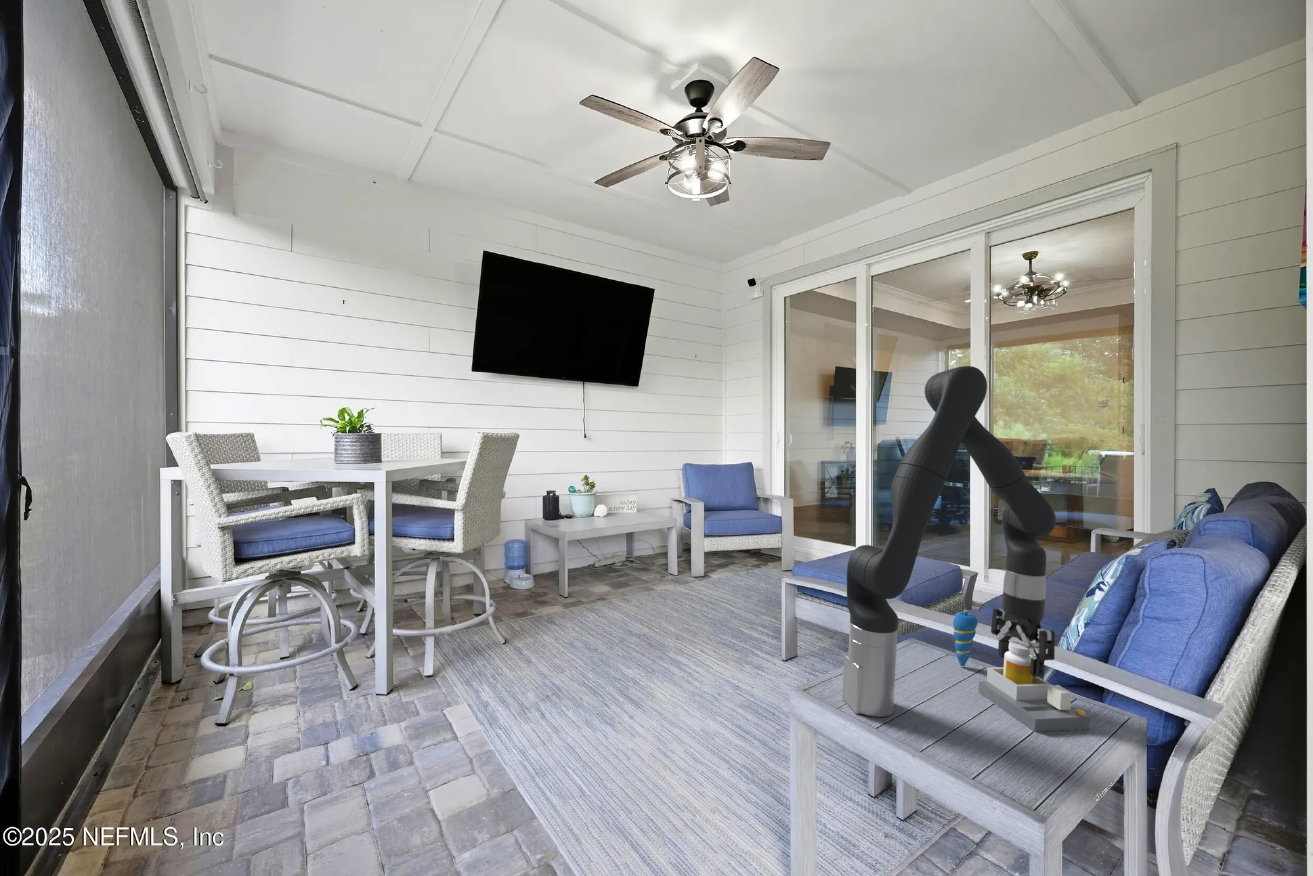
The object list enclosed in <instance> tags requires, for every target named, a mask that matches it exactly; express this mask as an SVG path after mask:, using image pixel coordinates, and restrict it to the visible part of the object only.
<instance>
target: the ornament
mask: <svg viewBox="0 0 1313 876" xmlns="http://www.w3.org/2000/svg"><path fill="white" fill-rule="evenodd" d="M977 626H978V618H977V617H976V616H975V615H974V614H972V613H970V612H969V610H968V609H967V607H965V608H964V609H963V611H958V612H957V613H956V615H955V616H954V618H953V621H952V627H953V630H954V631H953V637H954V640H955V642H954V647H955V651H956V654H955V655H956V657H957V660H958V663H959V666H960V667H961V666H964V667H965V666H966V664H967V662H968V660H969V659H970V656H971V649H972V647H973V644H974V638H975V636H976V633H977V632H976V631H977V630H976V628H977Z"/></svg>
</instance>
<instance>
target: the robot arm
mask: <svg viewBox="0 0 1313 876" xmlns="http://www.w3.org/2000/svg"><path fill="white" fill-rule="evenodd" d="M924 385H925V386H924V397H925V399H926V401H927V404H928V405H929V406H930V408H931V409H932V410H933V411H934V412H935V414H934V415H933V418H932V420H931V421H930V423H929V425H928V426H927V428H925V430H924V431H923V432H921V433H922V434H921V435H920V436H919V437H918V438H917V439H916V440H915V442H913V444H912V445H911V446H910V447H909V448H908V449H907V451H906V452H905V454H904V455H903V456H902V459H901V460H900V463H899V465H898V467H897V470H896V473H895V474H894V477H893V479H892V482H891V485H890V503H891V511H892V523H891V529H890V532H889V533H890V534H889V536H888V538H887V541H886V543H885V545H884V547H883V548H880V547H877V546H874V545H870V544H863V545H860V546H858V547H857V548H856V547H855V549H854V550H853V551H852V553H851V554H850V556H849V559H848V561H847V567H846V605H847V609H848V612H849V635H848V652H847V653H848V654H845V655H844V657H843V674H842V675H843V677H842V691H841V693H842V694H841V695H842V696H841V698H842V700H843V701H844V702H845V704H847V706H848V707H850V708H851V710H852V712H854V713H855V714H859V715H860V714H862V715H865V716H868V717H873V718H874V717H876V718H881V717H883V718H885V717H888V716H891V715H892V714H893V712H894V706H895V705H894V704H895V687H896V686H895V685H896V664H897V663H896V662H897V650H898V649H897V647H898V646H897V644H898V631H899V630H898V629H899V628H898V627H899V617H898V614H897V612H896V611H895V610H894V609H893V608H892V607H891V605H890V604H889V603H888V600H893V599H896V598H898V597H899V596H900V595H901V594H903V592H904V591H905V589H906V588H907V586H908V584H909V582H910V579H911V577H912V573H913V571H914V567H915V564H916V560H917V556H918V553H919V550H920V547H921V542H922V540H923V537H924V534H925V532H926V529H927V526H928V523H929V521H930V518H931V515H932V513H933V511H934V508H935V506H936V503H937V502H938V500H939V497H940V495H941V493H942V490H943V488H944V487H945V483H946V481H947V478H948V475H949V472H950V471H951V468H952V465H953V463H954V461H955V458H956V456H957V453H958V451H959V449H960V446H961V445H962V447H963V448H964V449H965V451H966V453H968V454H969V456H970V457H971V458H972V460H973V462H974V463H975V465H976V466H977V468H978V470H979V471H980V474H981V475H982V477H983V478H984V480H985V481H986V483H987V485H988V487H989V488H990V490H991V492H993V493H994V495H995V497H997V498H999V499H1001V500H1003V501H1004V502H1005V503H1006V505H1005V506H1004V508H1003V511H1002V516H1001V518H1002V519H1001V522H1002V524H1001V525H1002V530H1003V535H1004V542H1005V544H1006V545H1005V546H1006V549H1007V550H1006V557H1005V558H1006V560H1005V561H1006V562H1005V572H1004V576H1003V584H1002V585H1003V587H1002V605H1001V608H993V610H992V620H991V626H990V633H991V634H992V635H995V636H996V639H997V640H998V646H997V647H998V649H997V652H998V657H999V658H1001V659H1004V655H1005V653H1006V652H1007V651H1010V650H1009V642H1011V641H1010V640H1011V639H1013V638H1015V639H1017V640H1019V641H1020V642H1021V643H1023V644H1024V645H1025V647H1026V648H1028V649H1029V651H1030V654H1031V655H1030V656H1031V657H1032V658H1031V667H1030V674H1031V675H1032V676H1034V677H1039V678H1041V677H1042V676H1043V675H1044V672H1045V671H1044V670H1045V661H1054V660H1055V657H1056V655H1055V652H1056V651H1055V650H1056V649H1055V645H1056V644H1055V643H1056V642H1055V641H1056V640H1055V635H1056V633H1055V631H1054V630H1051V629H1050V630H1049V629H1048V630H1047V629H1044V628H1042V626H1041V621H1042V620H1043V618H1045V610H1046V608H1045V607H1046V593H1047V581H1046V572H1047V571H1046V569H1047V568H1046V567H1047V552H1046V550H1045V549H1044V548H1043V547H1042V546H1041V545H1040V544H1039V542H1038V537H1043V536H1047V535H1049V534H1051V533H1052V532H1053V531H1054V529H1055V528H1056V525H1057V518H1056V513H1055V511H1054V509H1053V507H1052V506H1051V504H1050V503H1049V502H1048V500H1047V499H1046V498H1045V496H1043V495H1042V493H1041V492H1039V490H1038V489H1037V488H1036V486H1034V485H1033V483H1031V482H1030V481H1029V479H1028V477H1027V476H1026V473H1025V472H1024V470H1023V469H1022V466H1021V465H1020V464H1019V462H1018V459H1016V456H1015V455H1014V454H1013V453H1012V451H1011V450H1010V449H1009V448H1008V447H1007V446H1006V445H1005V444H1004V443H1003V442H1002V441H1001V440H1000V439H998V438H997V437H996V436H995V435H994V434H992V433H991V432H990V431H989V430H988V429H987V428H986V427H985V426H984V425H983V424H982V423H981V422H980V421H979V419H978V418H977V417H976V415H977V414H978V412H979V410H980V409H981V407H982V405H983V403H984V400H985V399H986V395H987V392H988V382H987V378H986V375H985V373H983V371H981V370H980V368H977V367H975V366H973V365H972V366H971V365H962V366H957V367H954V368H950V369H947V370H944V371H940V372H938V373H935V374H933V375H932V376H930V377H929V378H928V379H927V381H926V383H925V384H924ZM1033 641H1035V642H1033Z"/></svg>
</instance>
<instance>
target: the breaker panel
mask: <svg viewBox="0 0 1313 876" xmlns="http://www.w3.org/2000/svg"><path fill="white" fill-rule="evenodd" d="M1003 667H1004V666H1003ZM1003 667H1001V666H1000V667H997V666H996V667H987V672H986V680H979V681H978V693H979V694H980V695H982V696H983V697H985V698H986V699H988V700H989V701H990V702H992V703H993V704H995V706H998V708H999V709H1002V710H1003V711H1004V712H1006V713H1007V714H1008V715H1011V717H1013V718H1014V719H1016V720H1017V721H1019V722H1020V723H1021V724H1023V725H1024V726H1026V727H1027V728H1028V729H1030V730H1031V731H1033V732H1034V733H1037V732H1053V731H1055V732H1057V731H1075V730H1089V729H1090V727H1089V726H1090V716H1089V715H1087V714H1086V711H1084V710H1083V709H1077V708H1076V707H1074V706H1072V705H1071V710H1059V709H1057V708H1056V707H1054V706H1053V705H1051V704H1049V703H1048V702H1047V696H1048V685H1052V684H1051V683H1050V682H1048V681H1046V680H1044V679H1042V678H1041V677H1034V676H1033V684H1023V685H1017V684H1015V683H1014V682H1012V681H1011V680H1009V679H1007V678H1006V677H1004V676H1003Z"/></svg>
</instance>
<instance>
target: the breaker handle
mask: <svg viewBox="0 0 1313 876" xmlns="http://www.w3.org/2000/svg"><path fill="white" fill-rule="evenodd" d="M1072 695H1073V694H1072V691H1070V690H1068V689H1066V688H1065V687H1063V686H1061V685H1059V684H1051V685H1048V696H1047V702H1048V703H1049V704H1051V705H1053V706H1054V707H1056V708H1057V709H1059V710H1071V706H1072Z"/></svg>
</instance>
